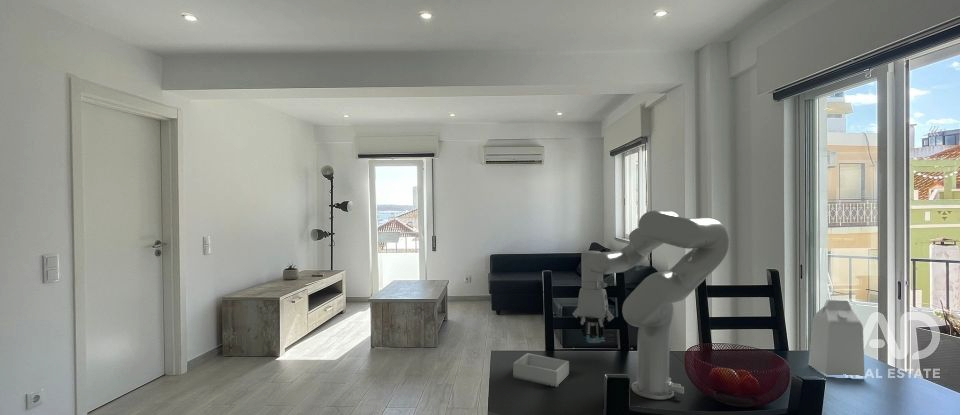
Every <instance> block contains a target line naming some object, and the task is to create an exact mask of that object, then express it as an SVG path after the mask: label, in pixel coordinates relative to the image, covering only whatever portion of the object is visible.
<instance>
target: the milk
mask: <svg viewBox="0 0 960 415" xmlns="http://www.w3.org/2000/svg"><path fill="white" fill-rule="evenodd" d="M812 318H813V319H812V325H811V333H810V334H811V336H810V347H809V356H808V357H809V358H808V365H810V366H812V367H814V368H816V369H817V370H819V371H821V372H823V373H825V374H827V375H843V374H846V375H860V376H866V375H865V373H866V372H865V351H864V350H865V349H864V348H865V347H864V327H863V324H862V322H861V320H860V319H859V317H858V316H857V314H856V313H855V312H854V310H853V309H852V306H851V305H850V302H849V301H848V300H847V299H828V298H827V299H826V301H825V303H824V306H822V308H820V309H819V310H818V311H817V312H816V313H815V314H814V315H813V317H812Z"/></svg>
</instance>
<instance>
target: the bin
mask: <svg viewBox="0 0 960 415" xmlns="http://www.w3.org/2000/svg"><path fill="white" fill-rule="evenodd" d="M512 366H513V367H512V369H513V370H512V371H513V372H512V374H513V375H512V378H514V379H519V380H523V381H528V382H532V383H537V384H540V385H545V386H549V385H550V387H554V386H555V387H554V388H558V387H559V384H560V383H561V382H562V381H563V380H564V379H565V378H566V377H567V376H568V375H570V361H569V360H565V359H560V358H555V357H549V356H544V355H539V354H534V353H529V352H528V353H525V354H524V355H522V356H521V357H520V358H518V359H517V360H515V361H514V362H513V364H512ZM568 377H569V376H568ZM568 377H567V378H568ZM567 378H566V379H567ZM566 379H565V380H566ZM565 380H564V381H565ZM564 381H563V382H564ZM561 384H562V383H561ZM561 384H560V385H561Z"/></svg>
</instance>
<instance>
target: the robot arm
mask: <svg viewBox="0 0 960 415" xmlns="http://www.w3.org/2000/svg"><path fill="white" fill-rule="evenodd" d="M628 239H629V240H628V241H629V244H627V245H626V246H624V247H623V248H621V249H619V250H612V251H603V252H601V251H598V250H585V251H583V252H582V253H581V257H580V258H581V259H580V260H581V261H580V262H581V263H580V265H581V288H580V289H579V293H578V299H577V307H576V308H575V310H574V311H573V312H572V316H574V317H575V318H576V320H577V321H579V323H580V325H581V334H582V337H586V334H587V332H588V322H587V321H586V318H585V317H594V318H599V319H598V320H599V322H598V333H599V338H602V339H603V338H604V336H605V326H606V325H607V324H608V323H609V322H611V321H612V320H613V319H614V318H615V316H614V315H613V314H612V313H611V311H610V309H609V303H608V301H609V300H608V294H607V290H606V289H605V288H607V287H608V283H607V282H605V281H604V275H610V274H617V273H624V272H626V271H628V270H630V269H632V268H633V267H636V266H637V265H638V264H640V263H642V261H644V260H645V259H646V257H647V256H648V254H649V253H651V252H652V251H654V250H655V249H657V248H658V247H660V246H662V245H663V244H666V245H670V246H673V247H678V248H682V249H688V250H689V249H691V250H690V251H688V252H687V253H686V254H684V255H683V256H682V257H681V258H680V259H679V260H678V262H676V264H674V265H673V266H672V267H671V268H670V269H669V268H668V269H666V270H663V271H657V272H654V273H651V274H650V275H648V276H647V277H645V278H644V279H643V280H642V281H641V282H640V283H639V284H638V285H637V286H636V287H635V289H633V291H632V292H630V294H629V295H628V296H627V297H625V298H626V299H625V300H624V301H623V304H622V308H621V313H622V317H623V319H624V321H625V322H626V323H628V324H629V325H630V326H633V327H636V328H638V332H637V345H636V346H637V348H636V349H637V353H636V354H637V358H636V361H637V362H636V381H634V382H633V383H632V384H631V390H632V392H633V393H634V394H636V395H638V396H640V397H643V398H647V399H652V400H668V399H671V398H673V397H674V395H675V392H676V393H680V394H685V387H684V386H682V385H681V384H680V383H674V382H673V381H672V378H671V377H670V345H671V327H672V322H673V318H674V303H678V302H682V301H684V300H685V299H687V298H688V297H689V295H690V294H692V293H693V292H694V290H696V288H698V287H699V286H700V284H702V283H703V282H704V281H705V279H707V278H708V277H709V275H711V274H712V273H713V272H714V271H715V270H716V269H717V268H718V267H719V266H720V264H722V262H723V260H725V258H726V255H727V254H728V251H729V247H730V246H729V244H730V239H729V234H728V231H727V229H726V227H725V226H724V225H723V223H722V222H720V221H719V220H717V219H714V218H711V217H690V218H689V217H682V216H680V215H678V213H677V212H675V211H671V210H667V209H666V210H664V209H663V210H662V209H661V210H660V209H659V210H656V209H655V210H649V211H646V212H645V213H643V215H641V217H640V218H639V220H638V224H637V227H636V228H635V229H633V230H632V231H631V232H630V233H629V236H628ZM606 317H607V318H606ZM605 318H606V319H605Z"/></svg>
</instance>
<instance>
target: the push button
mask: <svg viewBox="0 0 960 415" xmlns="http://www.w3.org/2000/svg"><path fill="white" fill-rule="evenodd" d="M585 318H586V323H587V326H588V332H587V334H586V336H585V340H586V343H588V344H596V343H597V344H599V343H601V342H605V340H604V339H606V337H602V338H599V320H598V319H599V318H594V317H585Z"/></svg>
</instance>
